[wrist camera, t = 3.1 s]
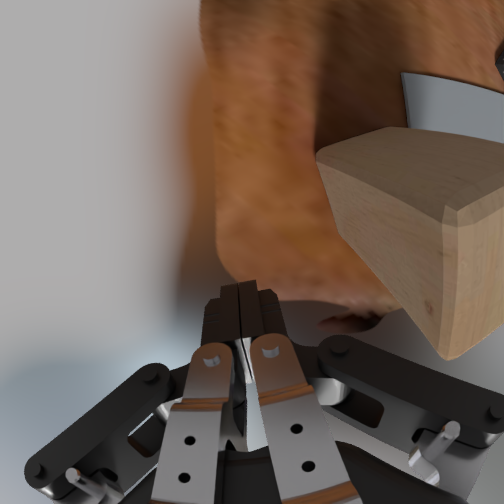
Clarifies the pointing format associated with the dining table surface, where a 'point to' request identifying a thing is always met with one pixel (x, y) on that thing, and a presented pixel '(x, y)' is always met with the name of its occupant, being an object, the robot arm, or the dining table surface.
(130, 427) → the robot arm
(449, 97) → the mat
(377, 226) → the wooden block
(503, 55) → the disk drive
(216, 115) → the dining table surface
